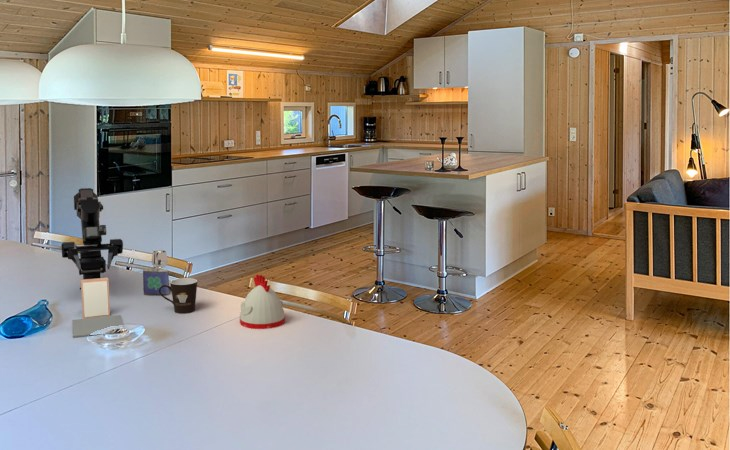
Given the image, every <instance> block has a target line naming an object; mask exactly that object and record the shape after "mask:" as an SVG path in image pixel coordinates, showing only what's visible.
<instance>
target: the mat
mask: <svg viewBox="0 0 730 450" xmlns="http://www.w3.org/2000/svg"><path fill="white" fill-rule="evenodd" d="M71 322H72V323H71V324H72V339H75V338H85V337H89V336H88V335H90V334H91V333H93V332H95V331H97V330H101V329H104V328H107V327H110V326H119V325H124V322H123V319H122V315H121V314H115V315H110V316H105V317H95V318H86V319H83V318H78V319H72V321H71Z"/></svg>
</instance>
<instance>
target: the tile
mask: <svg viewBox="0 0 730 450" xmlns="http://www.w3.org/2000/svg"><path fill="white" fill-rule="evenodd" d="M109 280H110V279H109V277H101V278H97V279H85V280H83V279H80V288H81V289H80V290H81V291H80V293H81V294H80V295H81V308H82V312H81V313H82V319H86V318H95V317H105V316H111V303H110V302H111V301H110V284H109V283H110V282H109Z"/></svg>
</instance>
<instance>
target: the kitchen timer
mask: <svg viewBox="0 0 730 450" xmlns="http://www.w3.org/2000/svg"><path fill="white" fill-rule="evenodd" d="M268 281H269V280H266V276H265V275H262V274H261V275H260V274H256V275H255V277H253V282H254V285H255V287H253V288H252V289H251V290H250V291H249V292H248V294H247V295H246V296H245V298H244V300H243V302H241V304H240V312H239V313H240V314H239V324H240V326H242V327H244V328H247V329H253V330H268V329H274V328H277V327H281V326H282V325H284V324H285V319H286V318H285V317H286V315H285V311H284V307H283V306H284V303H283V302H284V301H283V300H282V299H280V297H279V296H278V295H277V292H275V290H273V289H272V288H271V285H270V284H269V285H268Z"/></svg>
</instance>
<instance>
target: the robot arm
mask: <svg viewBox="0 0 730 450" xmlns="http://www.w3.org/2000/svg"><path fill="white" fill-rule="evenodd" d="M73 209H74V210H75V211H76V217H78V218H79V220H80V224H81V237H82V238H81V239H82V244H81V245H79V244H77V245H76V244H75V241H67V242H66V241H64V242H62V243H61V257H62V258H65V259H66V258H67V259H68V260H71V261H72V262H73V263H74V264H75V266H76V268H77V269H78V275H79V276H81V275H82V280H85V279H97V278H102V277H101V274H104V273H106V272H107V270H110V267H111V264H112V262H113V259H114V258H115V257H117V256H118V255H122V254H123V253H124V252H123V250H124V249H123V248H124V241H123V240H122V238H113V239H111V238H110V239H109V243H102V241H103V238H102V236H106V235H107V225H106V224H100V212H102V211H103V210H104V204H102V203H101V201H99V198H98V194H96V193H95V192H94V188H91V187H88V188H87V187H83V188H81V187H80V188H79V189H78V192H77V193H76V194H75V195H73ZM102 251H108V252H107V253H108V254H107V263H106V260H105V258H104V256H102ZM106 264H107V267H106ZM106 268H107V269H106ZM79 290H81V287H79Z"/></svg>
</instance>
